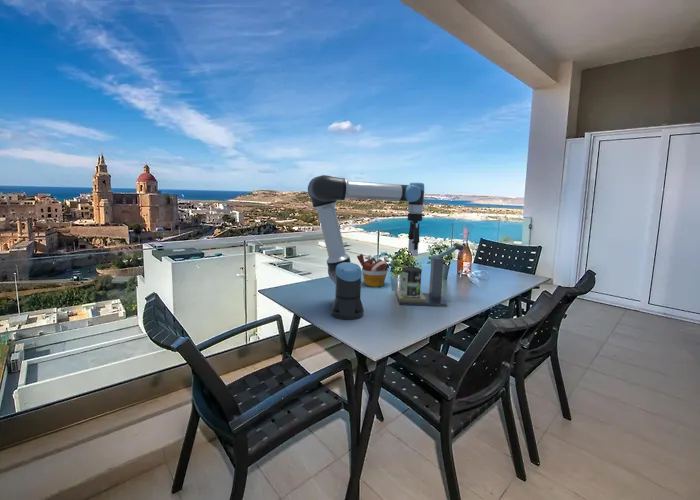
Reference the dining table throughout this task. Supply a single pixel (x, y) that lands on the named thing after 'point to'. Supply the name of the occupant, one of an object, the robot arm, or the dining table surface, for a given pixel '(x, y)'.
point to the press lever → (450, 250)
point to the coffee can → (411, 281)
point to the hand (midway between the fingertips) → (412, 253)
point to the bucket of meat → (373, 270)
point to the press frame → (434, 291)
